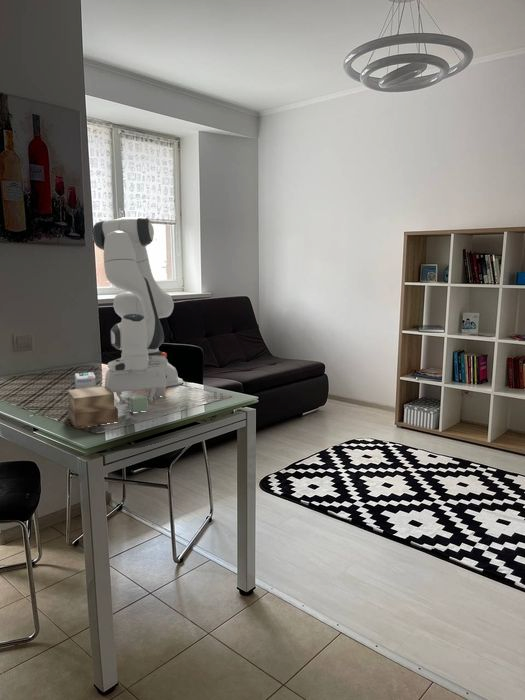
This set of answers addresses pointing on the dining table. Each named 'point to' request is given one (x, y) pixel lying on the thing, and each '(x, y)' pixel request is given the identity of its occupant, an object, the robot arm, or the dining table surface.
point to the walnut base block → (93, 417)
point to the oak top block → (91, 399)
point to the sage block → (138, 403)
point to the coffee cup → (163, 359)
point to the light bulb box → (85, 380)
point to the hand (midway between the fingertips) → (136, 402)
